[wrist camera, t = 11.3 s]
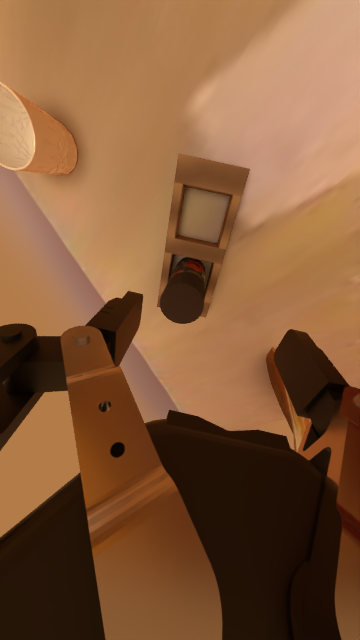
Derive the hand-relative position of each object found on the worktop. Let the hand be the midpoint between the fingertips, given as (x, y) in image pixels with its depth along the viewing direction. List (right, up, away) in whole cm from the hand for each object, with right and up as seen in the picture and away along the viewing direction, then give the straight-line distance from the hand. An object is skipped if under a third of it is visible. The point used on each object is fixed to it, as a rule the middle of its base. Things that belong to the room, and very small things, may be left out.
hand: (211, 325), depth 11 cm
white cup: (-21, +28, +21) cm, 41 cm away
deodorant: (0, +10, +28) cm, 30 cm away
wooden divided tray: (+1, +14, +26) cm, 29 cm away
